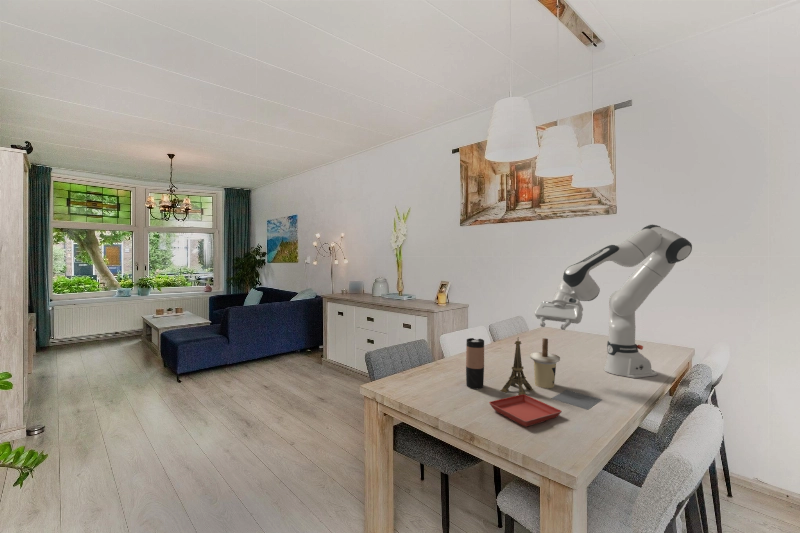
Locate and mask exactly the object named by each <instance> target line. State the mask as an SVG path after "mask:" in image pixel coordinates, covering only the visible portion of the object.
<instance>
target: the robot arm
mask: <svg viewBox="0 0 800 533" xmlns="http://www.w3.org/2000/svg"><path fill="white" fill-rule="evenodd" d="M692 244H693V243H692V242H690V241H689V240H688V239H687V238H685V237H683V236H681V235H680V234H678V233H677V232H674V231H671V230H669V229H666V228H663V227H661V226H660V225H657V224H648V225H646V226H644V227H642V229H641V230H640V231H638V232H636V233H634V234H633V235H631V236H629V237H628V238H627V239H626V240H624V241H623V242H621V243H619V244H617V245H615V244H610V245H607V246H605V247H603V248H601V249H599V250H597V251H596V252H594V253H592V254H590V255H589V256H588V257H586V258H584V259H582V260H580V261H579V262H577V263H575V264H572V265H569V266H568V267H567V268H566V269H565V270H564V273H563V276H562V278H561V280H560V282H559V284H558V287H557V291H556V292H555V294H554V295H553V298H552V300H551V301H542V302H540V303H539V304H538V306H537V308H536V309H535V311H534V316H535V318H536V319H538V320H540V325H539V326H540V327H542V328H545V327H546V323H545V321H553V322H558V323H559V322H560V323H563V324H561V325H560V329H561V331H566V329H567V328H568V327H569V326H570V325H571V324H576V325H578V324H580V323H581V322H582V319H583V311H584V307H583V305H582V303H581V302H591V301H593V300H595V299H597V297H598V296H599V294H600V292H601V290H600V289H601V288H600V286H599V285H598V283H597V281H595V280H594V279H593V277H592V276H591V275H590V272H591V271H592V270H593V269H595V268H597V267H598V266H600V265H602V264H604V263H606V262H613V263H614V264H617V265H619V266H621V267H625V268H633V267H636V266H637V265H638V267H637V268H636V269H635V270H634V271H633V272H632V274H631V275H630V276H628V278H627V280H625V282H624V283H623V285H622V286H620V288H619V289H618V290H615V291H613V292H612V293H611V294H610V295H609V296H610V297H609V298H608V299H609V300H608V340H607V343H606V347H607V348H606V352H607V353H606V354H607V356H606V361H605V364H604V367H603V370H604V371H605V372H607V373H609V374H612V375H617V376H620V377H621V376H622V377H628V378H631V379H637V378H638V379H639V378H646V377H652V376H658V372H657V371H655V370H654V369H652V364H651V361H650V360H649V359H648V358H647V357H646V356H644V355H643V354H642V353H641V352H639V350H642V351H643V349H644V345H641V344H636V311H637V310H638V309H639V308H640V307H641V305H642V304H643V303H644V301H645V300H646V299H647V298H648V297H649V295H650V294H651V293H652V291H653V292H654V289H656V288H657V287H658V285H659V284H661V283H662V282H663V281H664V279H665V278H666V277H667V276H668V274H670V272H671V271H672V269H673V268H674V266H675V265H676V263H679V262H681V261H684V260H686V258H688V257H689V256H690V255H691V252H692V251H693V245H692Z"/></svg>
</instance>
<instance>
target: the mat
mask: <svg viewBox="0 0 800 533" xmlns="http://www.w3.org/2000/svg"><path fill="white" fill-rule="evenodd" d="M550 399H551V400H555V401H557V402H561V403H563V404H568V405H571V406H575V407H577V408H581V409H584V410H586V411H587V410H590V409H592V407H594V406H595V405H597V404H598V403H600V402H601V401H602V400H603V399H602V398H598V397H595V396H591V395H588V394H584V393H580V392H576V391H573V390H570V389H565V390H564V391H562V392H560V393H558V394H556V395H554V396H552V397H551V398H550Z"/></svg>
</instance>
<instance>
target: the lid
mask: <svg viewBox="0 0 800 533" xmlns="http://www.w3.org/2000/svg"><path fill="white" fill-rule="evenodd" d="M541 345H542V346H541V349H542V350H541V351H542V352H532V353H530V354H529V358H530V359H531V360H532V361H534V360H535V361H539V362H546V363H554V362H557V363H559V362H560V361H561V357H560V356H559V355H558V354H554V353H550V352H549V339H548V338H546V337H545V338H542V344H541Z"/></svg>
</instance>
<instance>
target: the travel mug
mask: <svg viewBox="0 0 800 533" xmlns="http://www.w3.org/2000/svg"><path fill="white" fill-rule="evenodd" d="M465 346H466V349H465V351H466V352H465V353H466V354H465V355H466V356H465V378H466V379H465V381H466V382H465V383H466V385H465V386H466V387H467V388H469V389H473V390H478V389H479V390H480V389H483V387H484V377H485V339H482V338H478V339H476V338H474V337H469V338H467V339H466V344H465Z"/></svg>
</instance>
